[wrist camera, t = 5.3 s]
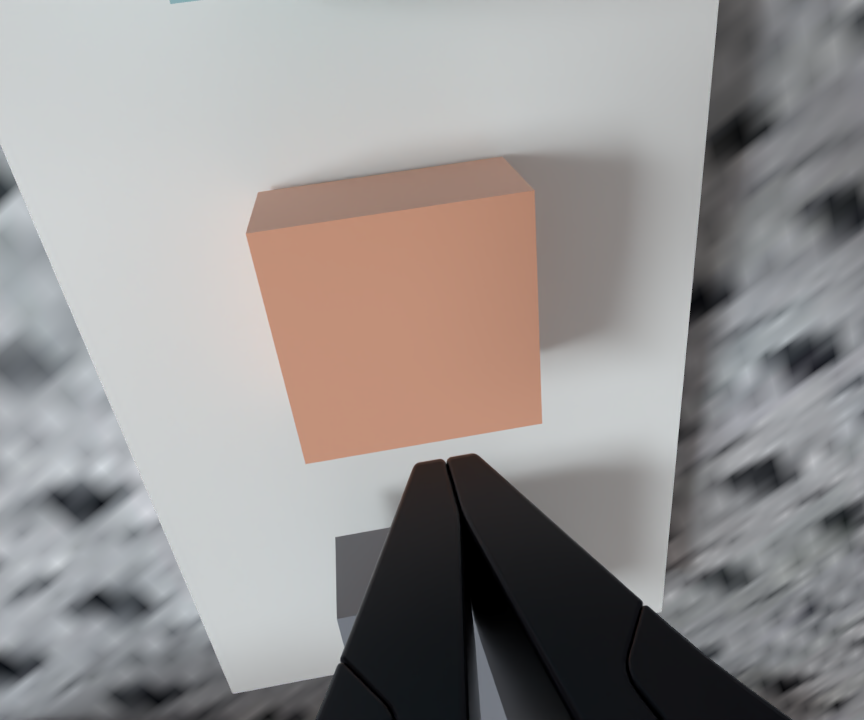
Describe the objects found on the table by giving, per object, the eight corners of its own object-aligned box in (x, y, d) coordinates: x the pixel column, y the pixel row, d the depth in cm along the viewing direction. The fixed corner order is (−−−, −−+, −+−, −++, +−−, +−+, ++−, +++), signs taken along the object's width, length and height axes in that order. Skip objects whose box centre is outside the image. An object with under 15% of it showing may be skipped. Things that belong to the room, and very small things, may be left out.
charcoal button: (536, 630, 20) (561, 710, 18) (366, 663, 20) (371, 748, 17) (530, 502, 17) (559, 577, 15) (335, 537, 17) (336, 618, 15)
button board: (643, 576, 24) (661, 611, 22) (237, 652, 23) (232, 694, 21) (726, -604, 10) (783, -685, 9) (-231, -531, 10) (-318, -609, 8)
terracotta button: (514, 364, 16) (542, 423, 14) (308, 398, 16) (305, 463, 14) (502, 156, 14) (534, 190, 12) (258, 191, 14) (245, 233, 12)
